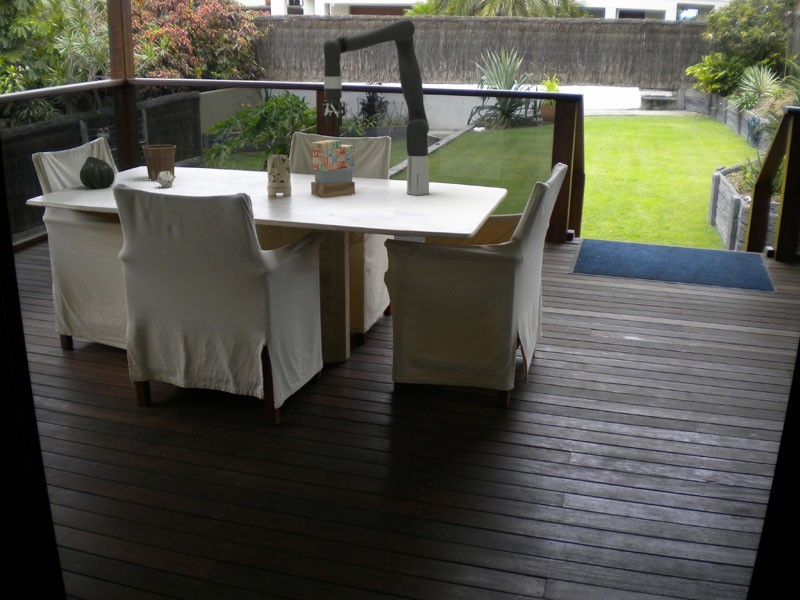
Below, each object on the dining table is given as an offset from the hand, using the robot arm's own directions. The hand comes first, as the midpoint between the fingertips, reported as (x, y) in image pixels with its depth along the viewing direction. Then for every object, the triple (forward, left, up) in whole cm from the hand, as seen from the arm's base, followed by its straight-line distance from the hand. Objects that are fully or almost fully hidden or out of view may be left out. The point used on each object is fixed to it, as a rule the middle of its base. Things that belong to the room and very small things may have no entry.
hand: (333, 125), depth 371 cm
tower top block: (0, 0, -25) cm, 25 cm away
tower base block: (0, +1, -31) cm, 31 cm away
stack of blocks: (+1, 0, -19) cm, 19 cm away
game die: (+63, +52, -31) cm, 87 cm away
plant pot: (+86, +44, -31) cm, 101 cm away
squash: (+82, +77, -31) cm, 116 cm away
